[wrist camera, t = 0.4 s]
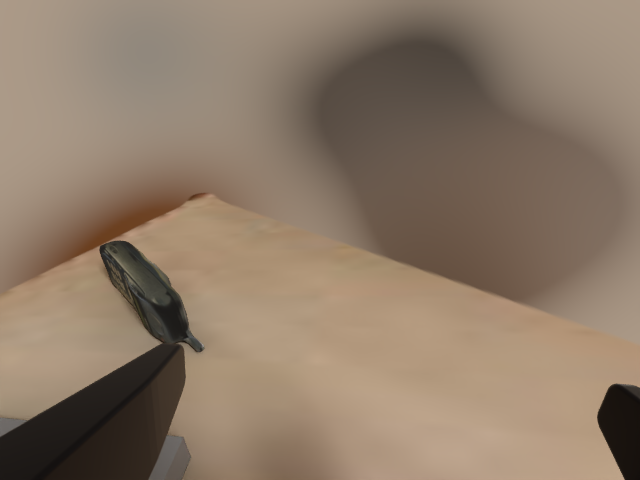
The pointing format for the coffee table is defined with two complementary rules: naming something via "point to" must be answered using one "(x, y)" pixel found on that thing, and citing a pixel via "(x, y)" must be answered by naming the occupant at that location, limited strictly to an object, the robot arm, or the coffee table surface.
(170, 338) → the mobile phone
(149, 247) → the coffee table surface
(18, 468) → the robot arm
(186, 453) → the switch plate
